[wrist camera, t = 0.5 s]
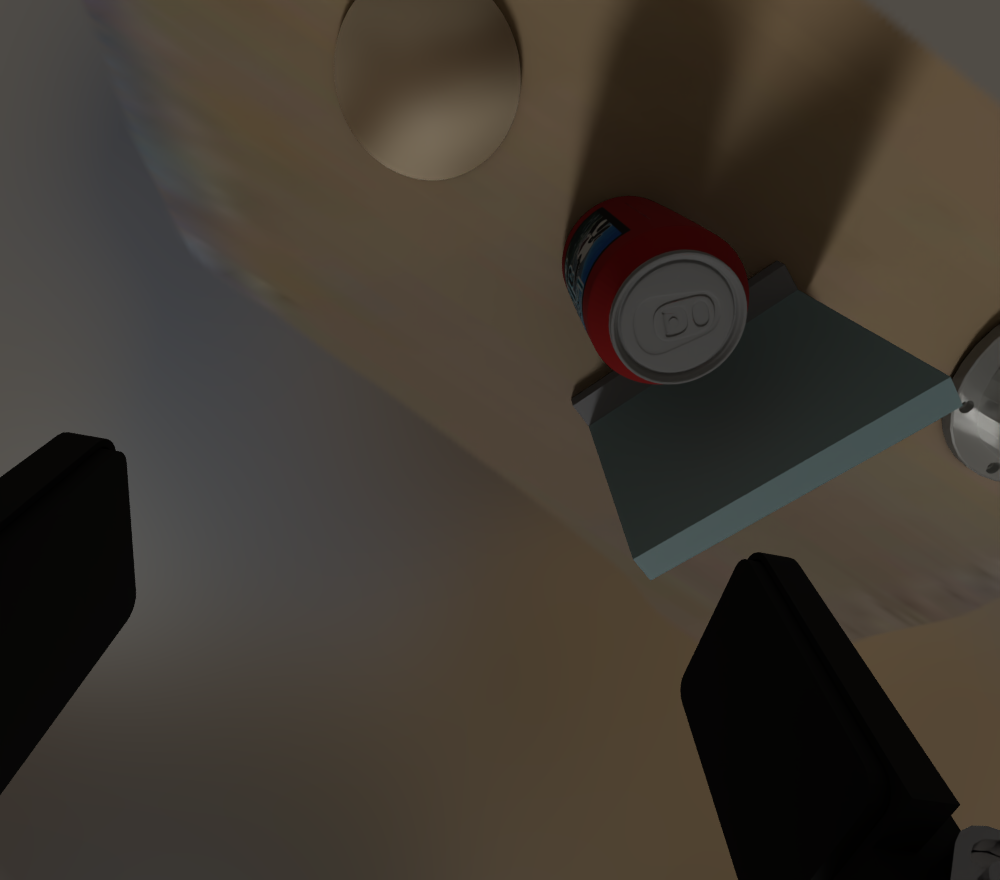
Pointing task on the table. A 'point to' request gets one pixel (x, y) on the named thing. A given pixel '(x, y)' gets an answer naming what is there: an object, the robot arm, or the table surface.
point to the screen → (755, 423)
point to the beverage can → (655, 290)
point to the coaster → (427, 82)
